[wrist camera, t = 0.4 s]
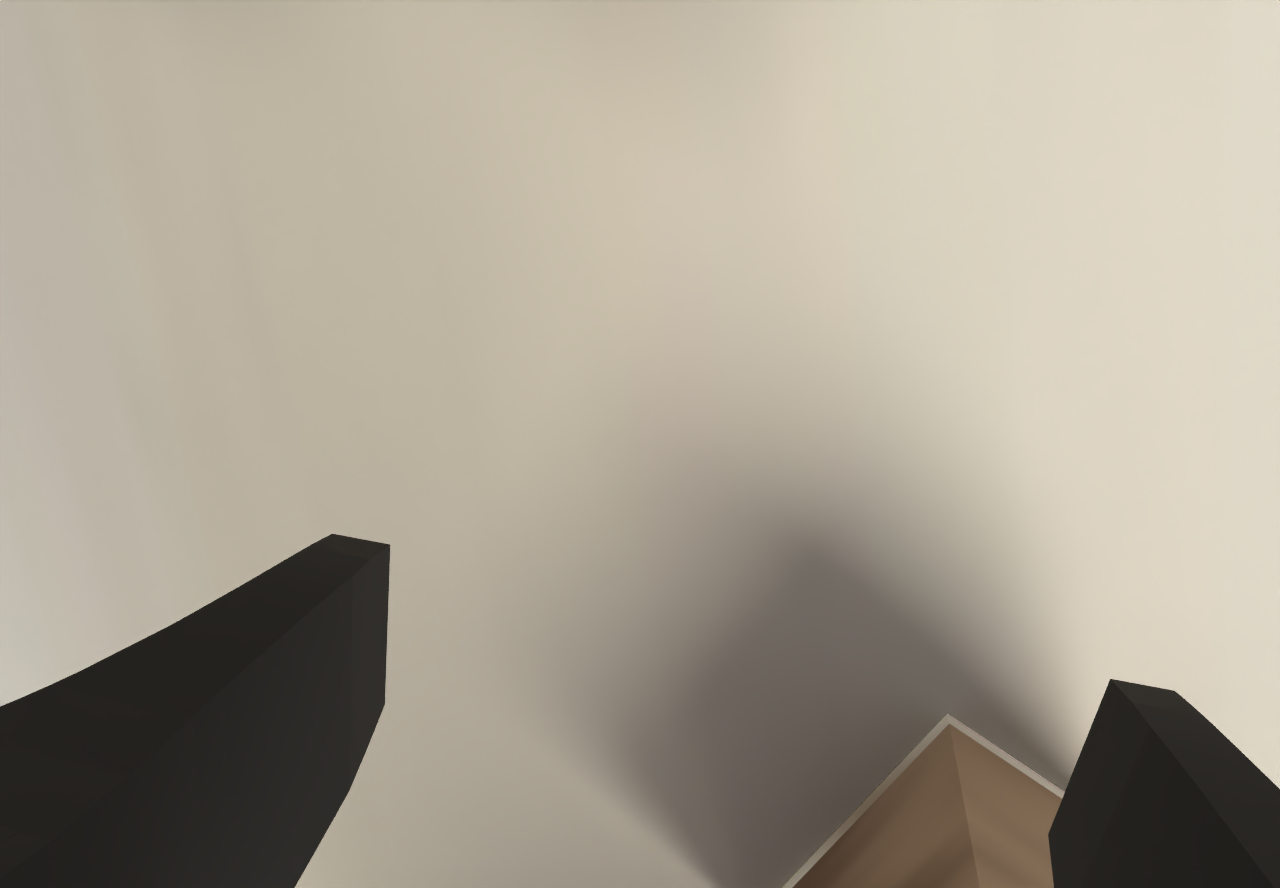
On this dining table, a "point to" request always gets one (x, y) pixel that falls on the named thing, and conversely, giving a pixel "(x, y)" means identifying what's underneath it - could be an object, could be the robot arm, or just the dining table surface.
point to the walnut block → (944, 822)
